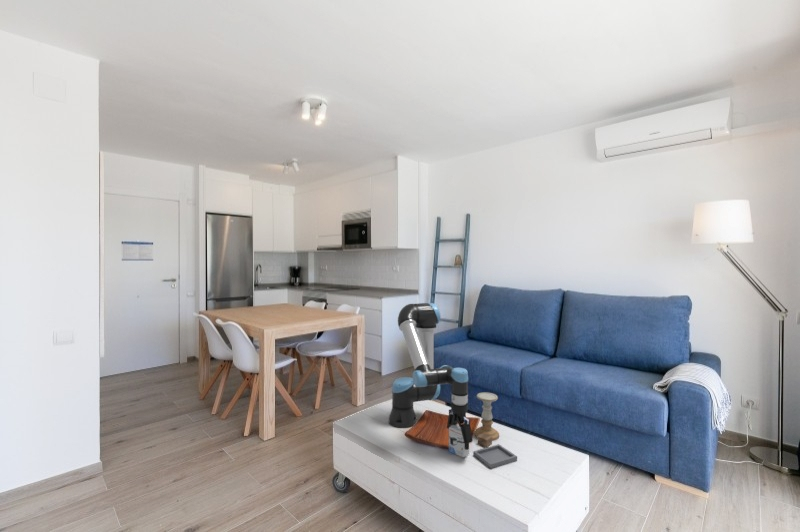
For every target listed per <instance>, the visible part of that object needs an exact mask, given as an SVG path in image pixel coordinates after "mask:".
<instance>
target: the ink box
mask: <svg viewBox="0 0 800 532" xmlns="http://www.w3.org/2000/svg"><path fill="white" fill-rule="evenodd" d="M463 441H464V440H463V436H462V432H461V428H460V426H459V424H458V423H457V424H456V425H452V426H450V427H449V429H448V452H450V453H452V454H454V455H457V456H459V457H461V458H466V456H464V457H463V456H462V452H463ZM449 447H450V449H449ZM469 454H470V448H469V449H468V455H469Z"/></svg>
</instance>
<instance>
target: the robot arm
mask: <svg viewBox="0 0 800 532" xmlns="http://www.w3.org/2000/svg"><path fill="white" fill-rule="evenodd" d="M439 323H441V311H440V309H439V306H438V305H437V304H436V303H433V302H424V303H423V302H422V303H421V302H420V303H408V304H406V305H404V306H403V307H402V308H401V310H400V311H399V312H398V316H397V325H398V328H399V331H400V332H402V334H403V337H404V341H405V345H406V346H407V349H408V353H409V356H410V360H411V362H412V365H413V368H414V371H413V372H412V377H410V376H402V377H398V378H396V379H395V380H394V381H393V383H392V386H391V387H392V388H391V393H392V395H391V400H392V401H391V404H392V405H391V411H390V412H389V413H390V414H389V416H388V423H389V425H390V426H392V427H395V428H401V429H402V428H403V429H404V428H411V427H413V426H415V425H417V416H416V413H415V409H414V403H417V402H423V401H424V402H425V401H432V400H435V399H437V398H438V397H439V395H440V393H441V385H447V384H448V385H449V386H450V387H451V388H450V389H451V391H450V392H451V394H450V396H451V398H450V399H451V402H450V403H451V404H450V408H449V409H448V416H447V417H448V418H447V423H446V424H447V425H446V429H448V430H449V427H450V426H452V425H456V424H458V425H459V426H460V428H461V432H462V436H463V440H464V441H463V452H462V456H463V457H464V456H465V457H467V456H469V454H468V449H469V450H470V444H471V443H473V437H472V436H473V435H472V428H471V419H470V418H467V415H466V414H467V412H468V407H469V406H468V402H469V398H468V397H469V393H468V392H469V390H468V389H469V375H468V374H469V373H468V370H467V369H466V368H463V367H454V368H453V367H452V366H450V365H445V364H444V365H443V364H442V366H440V367H438V368H437V367H436V368H434V360H435V359H434V353H435V352H434V350H435V349H434V344H435V343H434V337H435V335H434V330H436V328H437V325H438V324H439ZM463 457H462V458H463ZM465 457H464V458H465Z"/></svg>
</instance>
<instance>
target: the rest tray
mask: <svg viewBox="0 0 800 532" xmlns="http://www.w3.org/2000/svg"><path fill="white" fill-rule="evenodd" d="M472 456H473V457H474V458H476V459H477V460H479V461H480V462H481V463H482V464H483V465H485V466H486V467H487V468H488V469H490V470H492V469H496V468H498V467H501V466H502V467H503V466H506V465H508V464H512V463H515V462H517V461H518V456H517V455H516V454H515V453H512V451H510V450H508V449H507V448H505V447H503V446H502V444H499V443H498V444H495V445H490V446H489V447H487V448H486V447H483V448H480V449H477V450H474V451H473V455H472Z"/></svg>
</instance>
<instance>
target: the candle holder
mask: <svg viewBox="0 0 800 532" xmlns="http://www.w3.org/2000/svg"><path fill="white" fill-rule="evenodd" d="M476 398H477V400H479V401H481V402H483V405H481V408H482V413H481V418H482V419H481V421H480V422H481V424H482V426H481V425H480V427H477V428H476V429H475V430H476V431H475V430H474V435H475V437H476V438H478V436H479V435H481V434H482V433H484V434H487V435H490V436H492V441H496V440H498V439H499V437H500V433H499V431H498V430H497V429H495V428H494V427H492V424H493V423H494V421H493V420H492V419H494V418H493V413H492V409H493V406H492V403H494V402H496V401H497V400H498V399H499V397H498V395H497V394H495V393H492V392H479V393H477V394H476Z"/></svg>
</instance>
